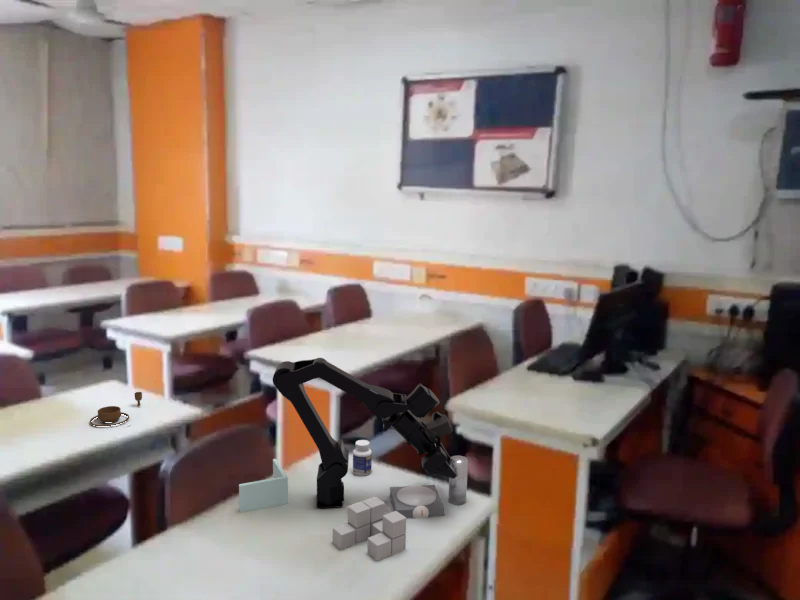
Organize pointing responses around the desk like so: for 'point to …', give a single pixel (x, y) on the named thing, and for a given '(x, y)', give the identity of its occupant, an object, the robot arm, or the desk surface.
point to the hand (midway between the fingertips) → (452, 468)
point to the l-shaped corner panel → (265, 491)
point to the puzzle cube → (372, 529)
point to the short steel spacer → (386, 509)
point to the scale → (417, 501)
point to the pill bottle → (362, 458)
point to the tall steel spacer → (458, 480)
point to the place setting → (113, 412)
